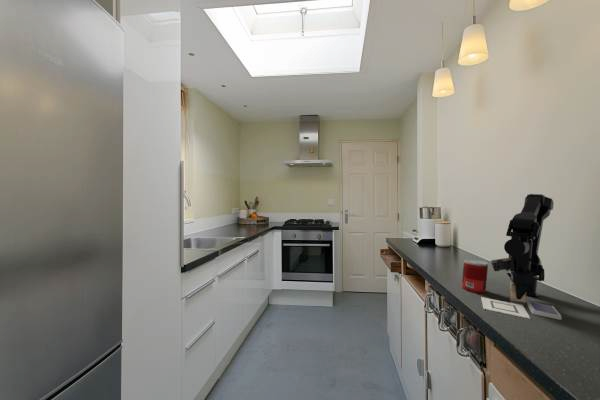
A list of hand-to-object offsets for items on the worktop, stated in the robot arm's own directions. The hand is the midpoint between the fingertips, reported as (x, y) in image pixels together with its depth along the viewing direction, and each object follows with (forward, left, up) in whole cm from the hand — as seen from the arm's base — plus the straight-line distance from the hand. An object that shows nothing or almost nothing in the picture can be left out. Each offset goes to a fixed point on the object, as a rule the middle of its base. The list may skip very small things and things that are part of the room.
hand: (517, 297), depth 102 cm
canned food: (-5, -13, -2) cm, 14 cm away
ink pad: (+6, +6, -2) cm, 9 cm away
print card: (+10, -5, -2) cm, 11 cm away
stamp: (0, 0, -2) cm, 2 cm away
